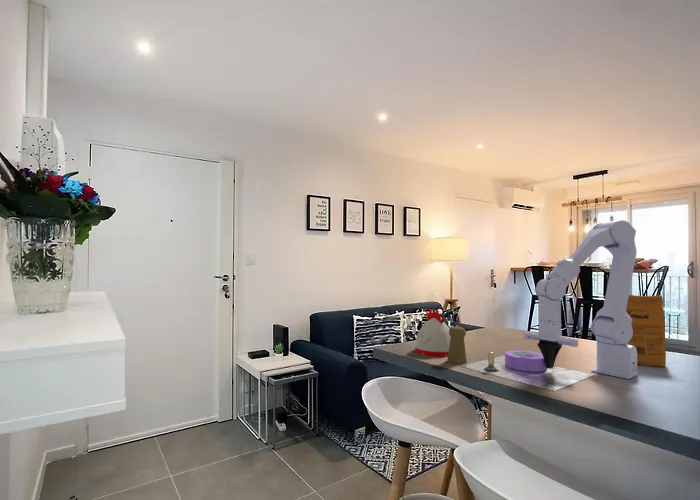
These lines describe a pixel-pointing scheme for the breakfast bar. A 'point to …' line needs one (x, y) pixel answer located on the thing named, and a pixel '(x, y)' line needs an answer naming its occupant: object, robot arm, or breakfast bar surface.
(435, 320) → the kitchen timer
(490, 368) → the fixed brass pin
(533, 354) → the masking tape
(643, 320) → the coffee package
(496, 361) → the light grey flat board
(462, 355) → the cork
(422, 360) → the breakfast bar surface
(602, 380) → the breakfast bar surface
